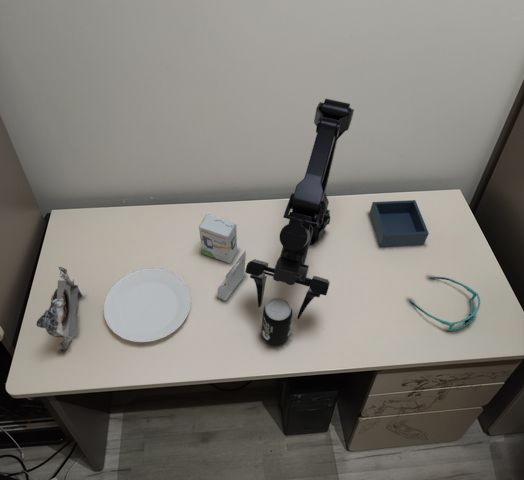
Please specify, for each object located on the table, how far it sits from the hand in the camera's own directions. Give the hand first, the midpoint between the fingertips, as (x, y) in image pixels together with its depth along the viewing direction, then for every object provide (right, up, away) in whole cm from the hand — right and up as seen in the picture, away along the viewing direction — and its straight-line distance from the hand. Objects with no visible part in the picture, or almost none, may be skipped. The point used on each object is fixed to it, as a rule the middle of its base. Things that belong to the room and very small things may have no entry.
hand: (278, 312), depth 111 cm
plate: (-32, 0, +9) cm, 33 cm away
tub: (+34, +20, +29) cm, 49 cm away
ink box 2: (-12, +4, +14) cm, 19 cm away
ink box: (-15, +13, +21) cm, 29 cm away
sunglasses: (+43, 0, +13) cm, 45 cm away
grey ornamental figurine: (-50, -4, +6) cm, 50 cm away
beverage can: (-1, -6, +6) cm, 9 cm away
